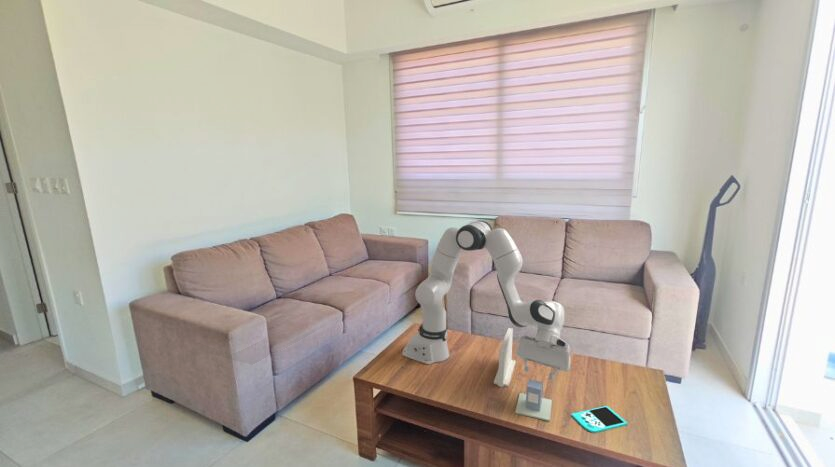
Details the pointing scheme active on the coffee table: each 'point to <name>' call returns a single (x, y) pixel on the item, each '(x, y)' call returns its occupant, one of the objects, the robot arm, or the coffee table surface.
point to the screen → (505, 361)
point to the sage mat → (543, 413)
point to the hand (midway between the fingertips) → (538, 375)
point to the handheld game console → (599, 419)
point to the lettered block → (534, 395)
